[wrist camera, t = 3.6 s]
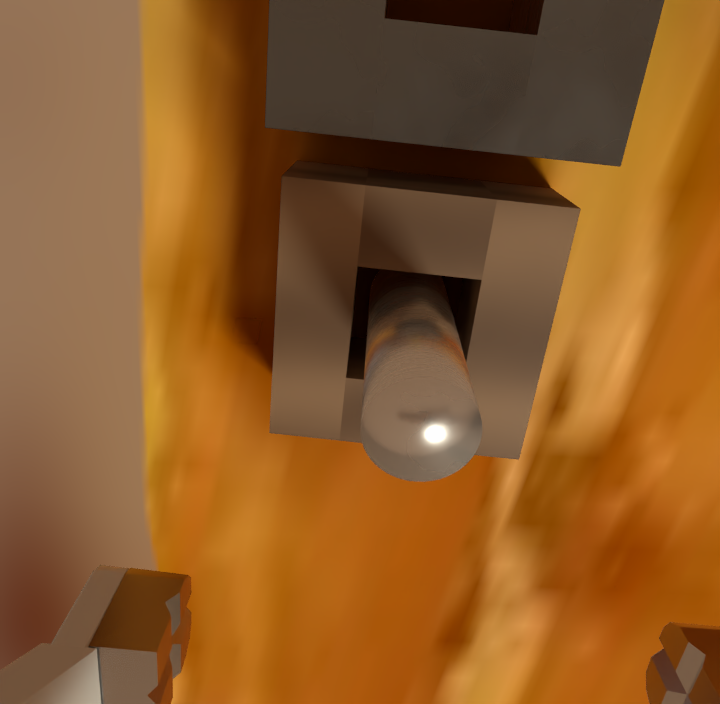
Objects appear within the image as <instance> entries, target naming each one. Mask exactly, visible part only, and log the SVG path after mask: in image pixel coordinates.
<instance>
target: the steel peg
mask: <svg viewBox="0 0 720 704" xmlns="http://www.w3.org/2000/svg"><path fill="white" fill-rule="evenodd" d="M360 432H361V440H362V443H363V447H364V449H365V451H366V453H367V454H368V456H369V457H370V459H371V460H372V461H373V462H374V463H375V464H376V465H377V466H378V467H379V468H380V469H382V470H383V471H385V472H386V473H388V474H390V475H392V476H394V477H397V478H400V479H404V480H408V481H432V480H437V479H441V478H444V477H447V476H449V475H451V474H453V473H455V472H456V471H458V470H459V469H461V468H462V467H463V466H465V465H466V464H467V463H468V462H469V461H470V459H471V458H472V457H473V456H474V454H475V452H476V451H477V449H478V447H479V444H480V441H481V437H482V420H481V415H480V412H479V408H478V404H477V401H476V397H475V393H474V390H473V386H472V383H471V379H470V375H469V372H468V368H467V364H466V361H465V357H464V354H463V350H462V346H461V343H460V339H459V335H458V332H457V328H456V324H455V321H454V317H453V314H452V310H451V306H450V303H449V299H448V295H447V292H446V288H445V285H444V282H443V279H442V277H441V275H432V274H423V273H413V272H404V271H395V270H386V269H381V270H380V271H379V272H378V273H377V275H376V276H375V278H374V280H373V282H372V285H371V290H370V301H369V315H368V329H367V343H366V357H365V371H364V385H363V399H362V413H361V426H360Z"/></svg>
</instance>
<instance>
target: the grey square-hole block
mask: <svg viewBox="0 0 720 704" xmlns="http://www.w3.org/2000/svg"><path fill="white" fill-rule="evenodd" d="M387 2H388V0H269V27H268V55H267V84H266V112H265V128H274V129H283V130H292V131H301V132H310V133H319V134H328V135H337V136H347V137H356V138H365V139H374V140H383V141H392V142H401V143H410V144H419V145H429V146H438V147H447V148H456V149H465V150H474V151H483V152H492V153H501V154H511V155H520V156H529V157H538V158H547V159H556V160H565V161H574V162H583V163H593V164H602V165H611V166H621V162H622V159H623V155H624V151H625V147H626V143H627V140H628V136H629V132H630V128H631V125H632V121H633V117H634V113H635V109H636V106H637V102H638V98H639V94H640V91H641V87H642V83H643V79H644V75H645V72H646V68H647V64H648V60H649V57H650V53H651V49H652V45H653V41H654V38H655V34H656V30H657V26H658V23H659V19H660V15H661V11H662V7H663V4H664V0H514V3H513V9H512V15H511V20H510V26H509V32H503V31H494V30H485V29H476V28H467V27H458V26H449V25H440V24H431V23H422V22H413V21H404V20H395V19H386V12H387Z"/></svg>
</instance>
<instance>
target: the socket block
mask: <svg viewBox="0 0 720 704" xmlns="http://www.w3.org/2000/svg"><path fill="white" fill-rule="evenodd" d="M579 213H580V208H579V207H577V206H576V205H574V204H573V203H572V202H570V201H569V200H567V199H566V198H565V197H563V196H562V195H560V194H559V193H557V192H556V191H555V190H553V189H552V188H544V187H535V186H526V185H516V184H507V183H498V182H489V181H480V180H471V179H462V178H453V177H443V176H434V175H425V174H416V173H407V172H398V171H389V170H379V169H370V168H361V167H352V166H343V165H334V164H325V163H316V162H306V161H296V162H295V163H294V164H293V165H292V166H291V167H290V168H289V169H288V170H287V171H286V172H285V173H284V174H283V175H282V180H281V201H280V223H279V244H278V265H277V286H276V307H275V329H274V350H273V371H272V392H271V413H270V433H275V434H284V435H294V436H303V437H312V438H322V439H331V440H341V441H350V442H359V443H362V440H361V432H360V426H361V413H362V399H363V385H364V371H365V357H366V343H367V339H365V338H355V337H351V335H352V325H353V316H354V306H355V296H356V287H357V277H358V267H367V268H376V269H386V270H395V271H404V272H413V273H423V274H432V275H441V276H450V277H459V278H463V283H462V288H461V294H460V300H459V305H458V311H457V317H456V322H455V324H456V328H457V332H458V335H459V339H460V343H461V346H462V350H463V354H464V357H465V361H466V364H467V368H468V372H469V375H470V379H471V383H472V386H473V390H474V393H475V397H476V401H477V404H478V408H479V412H480V415H481V420H482V437H481V441H480V444H479V447H478V449H477V451H476V452H475V454H474V455H481V456H490V457H500V458H509V459H519V457H520V453H521V449H522V445H523V441H524V437H525V433H526V429H527V425H528V421H529V417H530V413H531V409H532V404H533V400H534V396H535V392H536V388H537V384H538V380H539V376H540V372H541V368H542V364H543V360H544V356H545V352H546V347H547V343H548V339H549V335H550V331H551V327H552V323H553V319H554V315H555V311H556V307H557V303H558V299H559V295H560V291H561V286H562V282H563V278H564V274H565V270H566V266H567V262H568V258H569V254H570V250H571V246H572V242H573V238H574V234H575V229H576V225H577V221H578V217H579Z"/></svg>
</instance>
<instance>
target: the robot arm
mask: <svg viewBox="0 0 720 704" xmlns="http://www.w3.org/2000/svg"><path fill="white" fill-rule="evenodd" d="M190 595H191V577H190V576H189V575H184V574H176V573H168V572H160V571H152V570H143V569H135V568H130V569H129V568H122V567H114V566H106V565H100V566H99V567H97V568H96V569H95V570H94V571H93V572H92V574H91V576H90V578H89V579H88V581H87V583H86V584H85V586H84V588H83V589H82V592H81V593H80V595H79V597H78V598H77V600H76V602H75V603H74V605H73V607H72V608H71V610H70V612H69V614H68V615H67V617H66V619H65V621H64V623H63V624H62V626H61V628H60V629H59V631H58V633H57V635H56V636H55V638H54V640H53V641H52V643H51V644H45V643H41V644H40V645H38V646H37V647H35V648H34V649H32V650H31V651H29V652H28V653H26V654H24V655H23V656H21V657H20V658H18V659H17V660H15V661H14V662H12V663H11V664H10V665H8V666H6V667H5V668H3V669H2V670H0V704H171V701H172V698H173V678H175V677H176V676H177V675H178V674H179V673H181V670H182V667H183V664H184V660H185V657H186V653H187V648H188V644H189V639H190V631H191V611H190V610H189V609H188V608H187V607H186V606H187V603H188V601H189V598H190ZM659 639H660V641H661V643H662V645H663V647H664V649H662V650H661V651H659V652H658V653H657V654H655V655H654V656H652V657H651V659H650V662H649V665H648V668H647V671H646V690H647V695H648V699H649V703H650V704H720V626H709V625H698V624H686V623H675V622H670V623H668V624H667V625H666V626H665V627H664V628H663V630H662V632H661V635H660V637H659Z"/></svg>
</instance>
